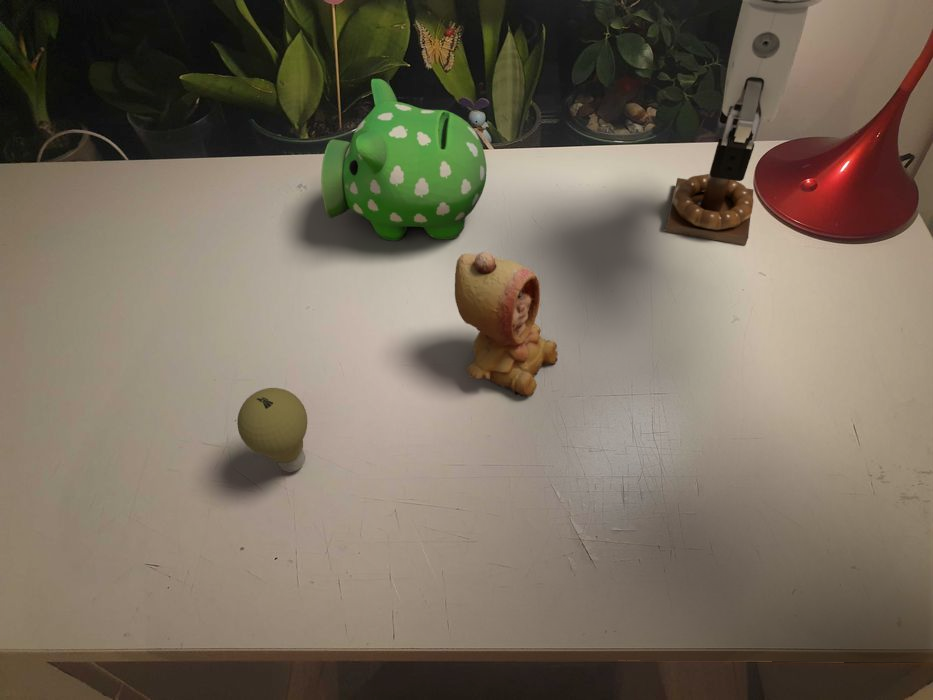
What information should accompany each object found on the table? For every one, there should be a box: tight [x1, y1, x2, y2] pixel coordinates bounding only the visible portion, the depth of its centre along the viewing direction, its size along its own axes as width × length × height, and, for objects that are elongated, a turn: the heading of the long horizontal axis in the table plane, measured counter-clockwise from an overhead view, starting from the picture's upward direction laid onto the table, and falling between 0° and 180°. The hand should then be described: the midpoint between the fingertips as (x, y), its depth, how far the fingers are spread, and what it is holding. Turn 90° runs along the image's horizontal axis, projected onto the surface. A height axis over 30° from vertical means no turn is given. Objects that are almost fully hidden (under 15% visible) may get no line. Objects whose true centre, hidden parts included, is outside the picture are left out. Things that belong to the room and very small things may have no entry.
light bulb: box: [236, 387, 308, 473], centre depth 57 cm, size 6×6×10 cm
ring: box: [672, 173, 754, 230], centre depth 77 cm, size 9×9×2 cm
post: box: [665, 150, 754, 246], centre depth 75 cm, size 9×9×9 cm
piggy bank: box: [320, 78, 487, 242], centre depth 75 cm, size 14×18×15 cm
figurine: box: [454, 251, 558, 398], centre depth 62 cm, size 10×8×15 cm
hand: (730, 149), depth 68 cm, fingers open, 9 cm apart
